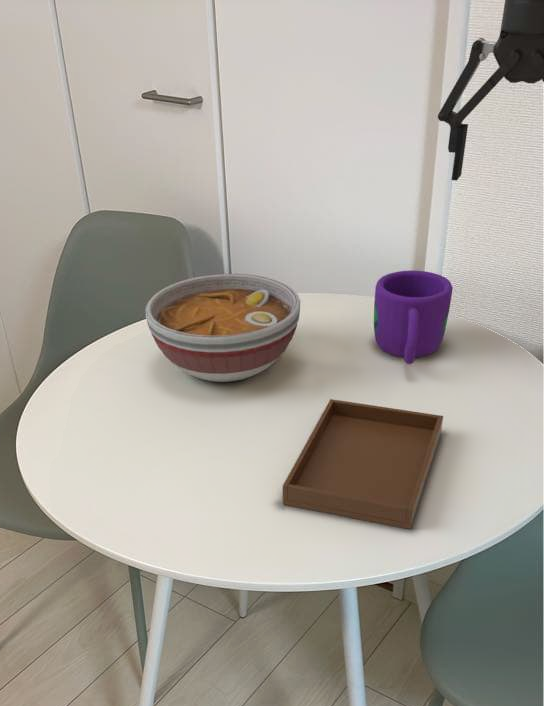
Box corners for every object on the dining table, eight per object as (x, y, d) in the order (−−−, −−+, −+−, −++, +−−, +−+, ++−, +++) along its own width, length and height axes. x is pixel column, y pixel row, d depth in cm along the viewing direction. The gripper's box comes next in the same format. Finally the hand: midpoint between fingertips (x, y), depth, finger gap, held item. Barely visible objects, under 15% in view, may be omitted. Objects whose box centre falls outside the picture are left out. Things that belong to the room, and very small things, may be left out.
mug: (372, 328, 124) (376, 268, 118) (442, 330, 123) (451, 269, 116) (368, 380, 111) (373, 315, 105) (447, 383, 110) (457, 318, 103)
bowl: (318, 341, 122) (320, 281, 115) (271, 412, 106) (269, 346, 99) (189, 324, 128) (184, 266, 122) (127, 389, 113) (117, 326, 106)
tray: (440, 434, 100) (443, 415, 98) (410, 529, 85) (412, 510, 83) (329, 416, 104) (330, 398, 102) (282, 504, 90) (282, 485, 88)
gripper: (427, -4, 92) (409, 182, 106) (651, -5, 83) (600, 197, 97) (442, -11, 97) (423, 167, 111) (654, -13, 88) (605, 181, 102)
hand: (505, 181), depth 104 cm, fingers open, 13 cm apart
